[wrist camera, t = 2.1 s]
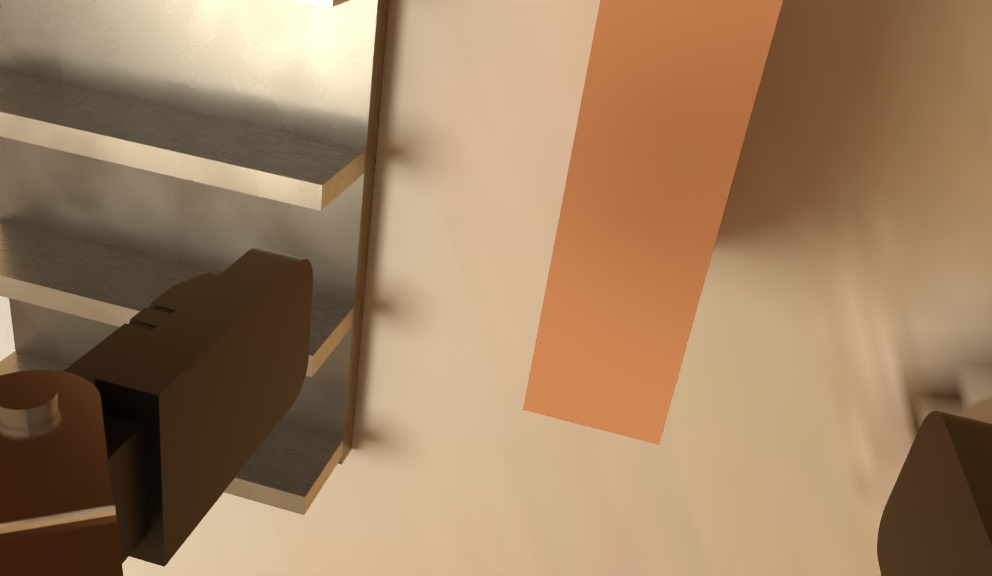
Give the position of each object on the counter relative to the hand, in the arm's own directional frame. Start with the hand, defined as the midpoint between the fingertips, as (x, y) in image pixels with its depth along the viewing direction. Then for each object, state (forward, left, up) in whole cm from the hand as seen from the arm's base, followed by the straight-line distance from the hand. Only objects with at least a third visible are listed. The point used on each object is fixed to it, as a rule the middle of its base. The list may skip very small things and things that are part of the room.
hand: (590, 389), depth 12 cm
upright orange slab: (0, 0, -17) cm, 17 cm away
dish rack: (+7, -16, -17) cm, 25 cm away
